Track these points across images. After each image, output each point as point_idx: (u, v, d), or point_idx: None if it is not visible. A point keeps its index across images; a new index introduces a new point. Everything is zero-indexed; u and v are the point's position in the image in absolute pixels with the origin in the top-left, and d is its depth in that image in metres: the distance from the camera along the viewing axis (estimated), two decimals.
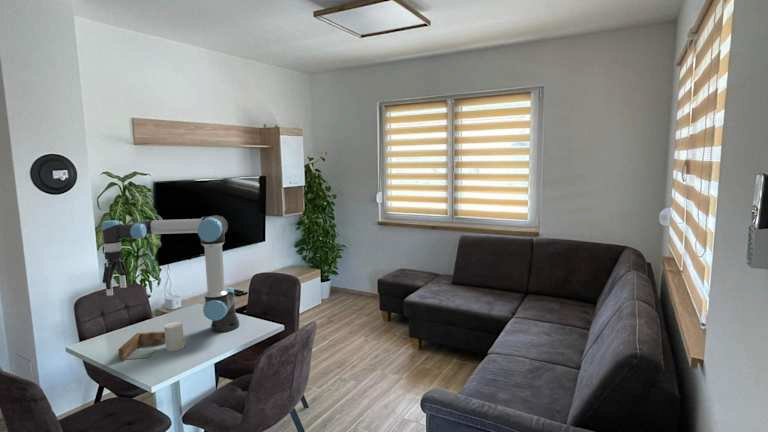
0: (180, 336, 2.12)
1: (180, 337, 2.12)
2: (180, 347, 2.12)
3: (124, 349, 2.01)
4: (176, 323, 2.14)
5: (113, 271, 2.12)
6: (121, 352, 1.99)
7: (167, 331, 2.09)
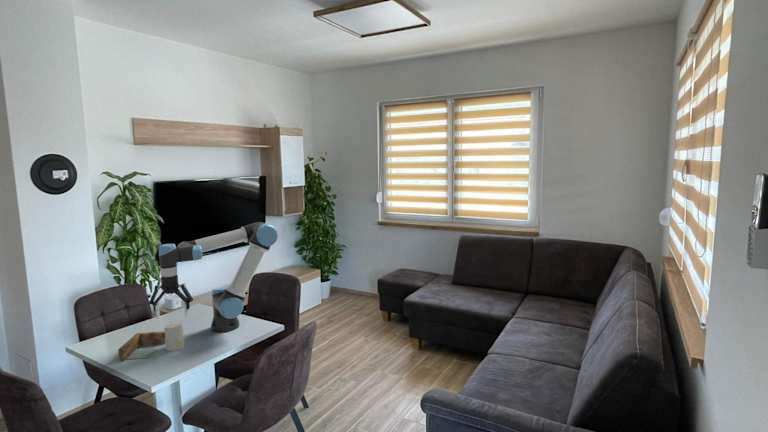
0: (180, 336, 2.12)
1: (180, 337, 2.12)
2: (180, 347, 2.12)
3: (124, 349, 2.01)
4: (176, 323, 2.14)
5: (161, 295, 2.09)
6: (121, 352, 1.99)
7: (167, 331, 2.09)
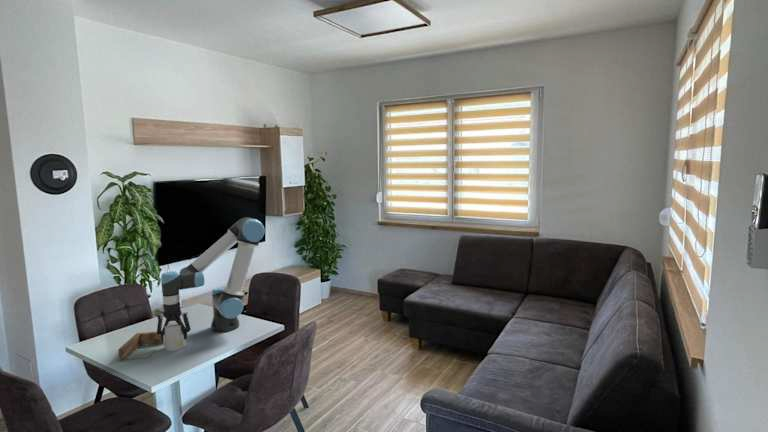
0: (180, 336, 2.12)
1: (180, 337, 2.12)
2: (180, 347, 2.12)
3: (124, 349, 2.01)
4: (176, 323, 2.14)
5: (166, 324, 2.11)
6: (121, 352, 1.99)
7: (167, 331, 2.09)
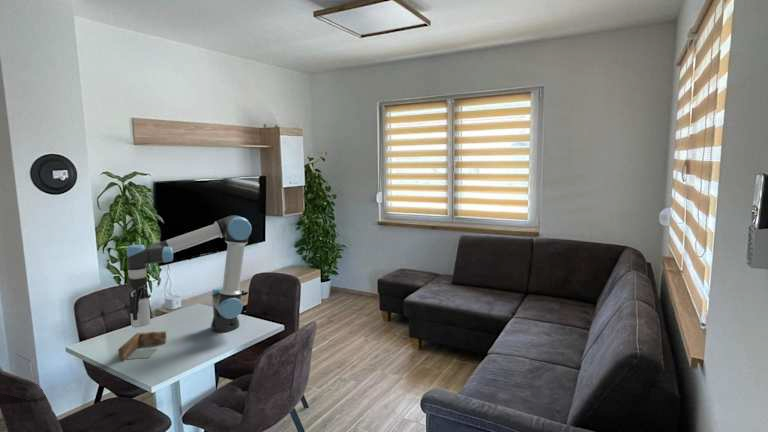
0: None
1: None
2: None
3: (124, 349, 2.01)
4: None
5: None
6: (121, 352, 1.99)
7: (146, 305, 2.03)
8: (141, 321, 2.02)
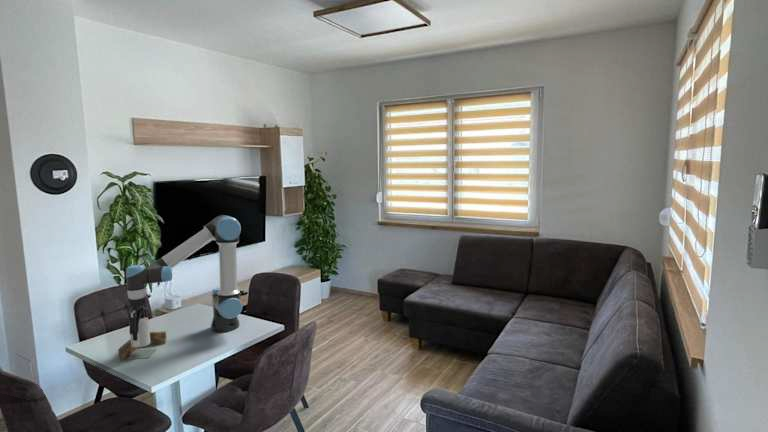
0: None
1: None
2: None
3: (124, 349, 2.01)
4: None
5: (138, 320, 2.02)
6: (121, 352, 1.99)
7: (145, 324, 2.04)
8: (141, 341, 2.02)
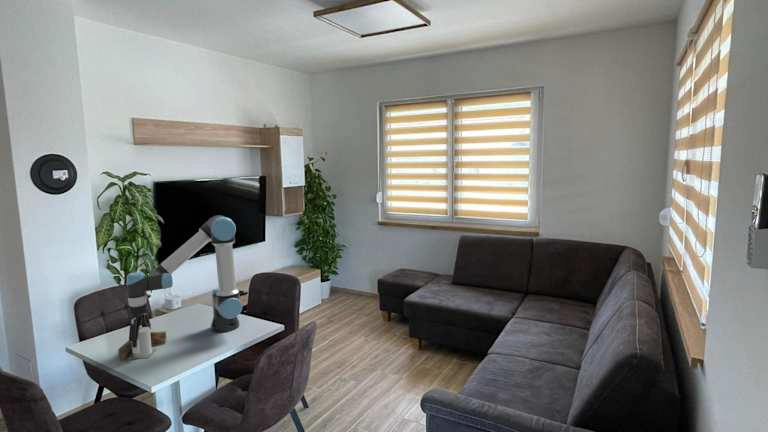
0: None
1: None
2: None
3: (124, 349, 2.01)
4: None
5: None
6: (121, 352, 1.99)
7: (147, 334, 2.04)
8: (142, 351, 2.03)
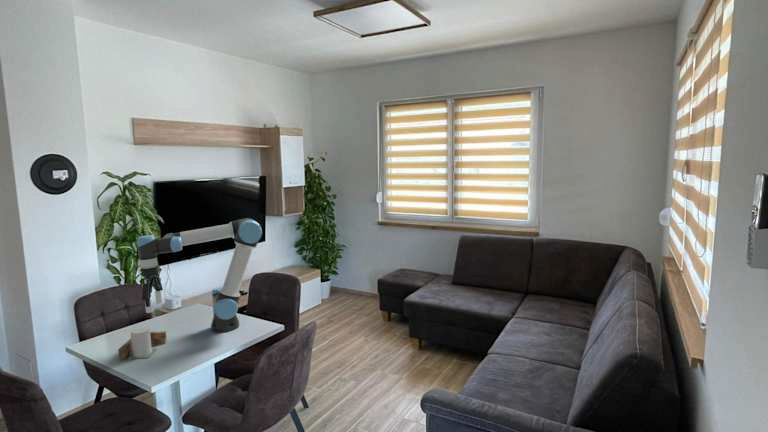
0: None
1: None
2: None
3: (124, 349, 2.01)
4: (137, 329, 2.06)
5: (151, 287, 2.07)
6: (121, 352, 1.99)
7: (147, 334, 2.04)
8: (142, 351, 2.03)
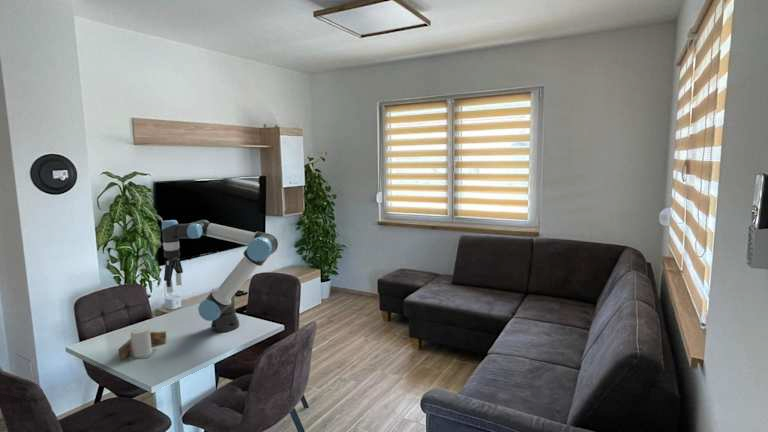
0: None
1: None
2: None
3: (124, 349, 2.01)
4: (137, 329, 2.06)
5: (172, 269, 2.19)
6: (121, 352, 1.99)
7: (147, 334, 2.04)
8: (142, 351, 2.03)
